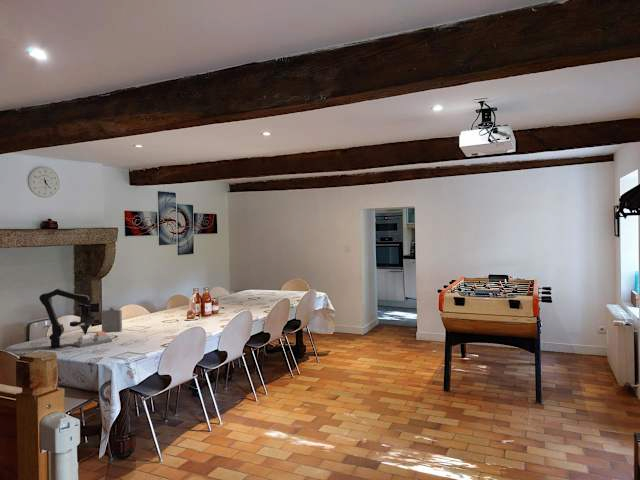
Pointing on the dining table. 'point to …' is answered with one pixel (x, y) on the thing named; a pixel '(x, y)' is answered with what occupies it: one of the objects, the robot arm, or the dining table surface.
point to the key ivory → (85, 336)
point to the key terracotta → (100, 333)
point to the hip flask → (111, 320)
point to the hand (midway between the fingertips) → (85, 334)
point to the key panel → (92, 341)
